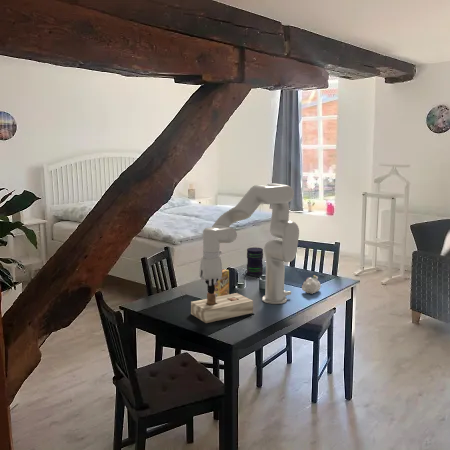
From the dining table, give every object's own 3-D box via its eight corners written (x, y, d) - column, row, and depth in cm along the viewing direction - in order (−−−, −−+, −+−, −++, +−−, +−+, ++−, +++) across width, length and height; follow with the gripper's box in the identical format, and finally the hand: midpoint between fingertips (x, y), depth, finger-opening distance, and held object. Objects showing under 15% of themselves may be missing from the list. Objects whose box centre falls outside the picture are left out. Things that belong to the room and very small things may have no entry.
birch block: (191, 314, 245) (191, 301, 244) (236, 304, 258) (236, 292, 257) (206, 323, 233) (206, 310, 232) (252, 312, 247) (253, 300, 246)
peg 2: (233, 308, 252) (233, 297, 251) (238, 311, 248) (238, 299, 247) (226, 310, 250) (227, 298, 248) (231, 312, 246) (231, 301, 245)
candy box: (219, 303, 260) (219, 273, 258) (212, 301, 263) (212, 272, 260) (229, 298, 267) (229, 270, 265) (222, 297, 270) (222, 268, 267)
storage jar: (265, 271, 319) (265, 248, 316) (259, 275, 310) (259, 251, 307) (250, 270, 323) (250, 246, 320) (244, 274, 314) (244, 250, 311)
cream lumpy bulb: (316, 272, 284) (306, 275, 271) (327, 281, 281) (318, 285, 268) (306, 285, 287) (296, 289, 274) (317, 294, 284) (307, 299, 271)
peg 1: (212, 303, 244) (212, 291, 243) (217, 305, 241) (217, 293, 240) (205, 304, 242) (205, 292, 241) (209, 307, 239) (209, 295, 238)
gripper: (220, 251, 244) (220, 288, 248) (193, 254, 236) (193, 293, 240) (229, 254, 238) (228, 292, 241) (201, 258, 230) (201, 297, 233)
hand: (211, 292), depth 241 cm, fingers closed
